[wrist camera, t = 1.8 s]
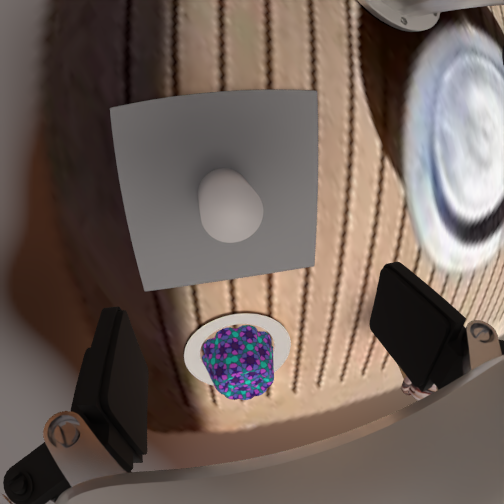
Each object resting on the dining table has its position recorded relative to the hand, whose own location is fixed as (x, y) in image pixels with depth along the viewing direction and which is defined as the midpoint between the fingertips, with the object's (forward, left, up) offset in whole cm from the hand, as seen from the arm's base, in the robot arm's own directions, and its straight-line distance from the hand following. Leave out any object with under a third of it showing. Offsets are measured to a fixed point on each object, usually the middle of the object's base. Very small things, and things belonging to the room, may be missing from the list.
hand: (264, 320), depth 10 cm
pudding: (+18, 0, -16) cm, 24 cm away
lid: (0, 0, -16) cm, 16 cm away
